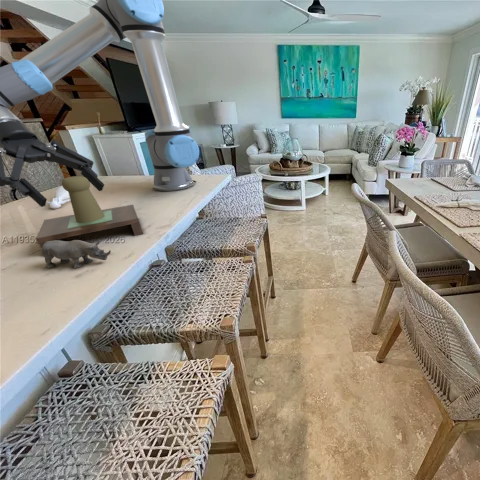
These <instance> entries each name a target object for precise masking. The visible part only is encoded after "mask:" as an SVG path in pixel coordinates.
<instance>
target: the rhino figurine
mask: <svg viewBox="0 0 480 480" xmlns="http://www.w3.org/2000/svg"><path fill="white" fill-rule="evenodd" d="M100 242H101V240H100V239H98V241H96V242H95V243H90V242H88V241H84V240H79V239H73V240H69V241H65V240H61V239H60V240H54V241H46V242H45V243H44V245H43V247H42V249H41V255H42V257H43V258H44V263H45V264H46V268H47V269H50V268H51V269H53V268H54V267H55V266H56V263H54V262H52V260H53V259H54V258H56V259H59V260H60V263H69V262H71V261H72V262H73V264H72V266H73V268H74V269H78V268H81V267H82V266H83V265H82V263H80V258H82V259H83V262H84V263H86V264H87V263H91V262H93V259H96V260H100V261H106V260H107V259H108V256H109V255H110V254H111V252H112V251H111V249H110V250H108V251H107V252H105V249H101V248H99V246H98V245H100Z"/></svg>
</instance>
